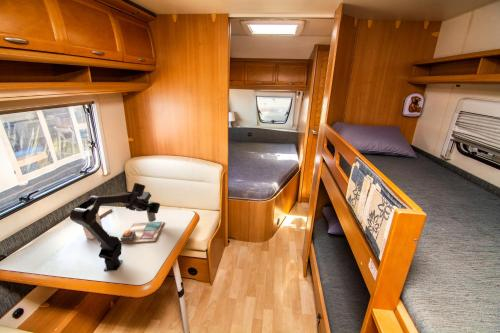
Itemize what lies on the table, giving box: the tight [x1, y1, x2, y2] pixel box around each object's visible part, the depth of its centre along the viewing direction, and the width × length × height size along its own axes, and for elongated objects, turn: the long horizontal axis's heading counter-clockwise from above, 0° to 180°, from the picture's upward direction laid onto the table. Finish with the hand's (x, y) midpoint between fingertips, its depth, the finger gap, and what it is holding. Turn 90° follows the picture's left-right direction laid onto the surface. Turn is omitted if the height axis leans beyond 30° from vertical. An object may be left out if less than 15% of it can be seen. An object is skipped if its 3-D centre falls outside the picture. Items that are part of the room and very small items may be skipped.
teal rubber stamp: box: [146, 200, 157, 223], centre depth 143 cm, size 5×5×12 cm
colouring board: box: [119, 221, 165, 245], centre depth 141 cm, size 20×20×4 cm
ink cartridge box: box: [82, 213, 104, 240], centre depth 138 cm, size 9×5×15 cm, turn 168°
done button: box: [123, 229, 131, 237], centre depth 134 cm, size 3×3×3 cm
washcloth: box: [98, 206, 113, 219], centre depth 160 cm, size 12×18×3 cm, turn 164°
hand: (151, 209), depth 144 cm, fingers closed on teal rubber stamp, 4 cm apart
